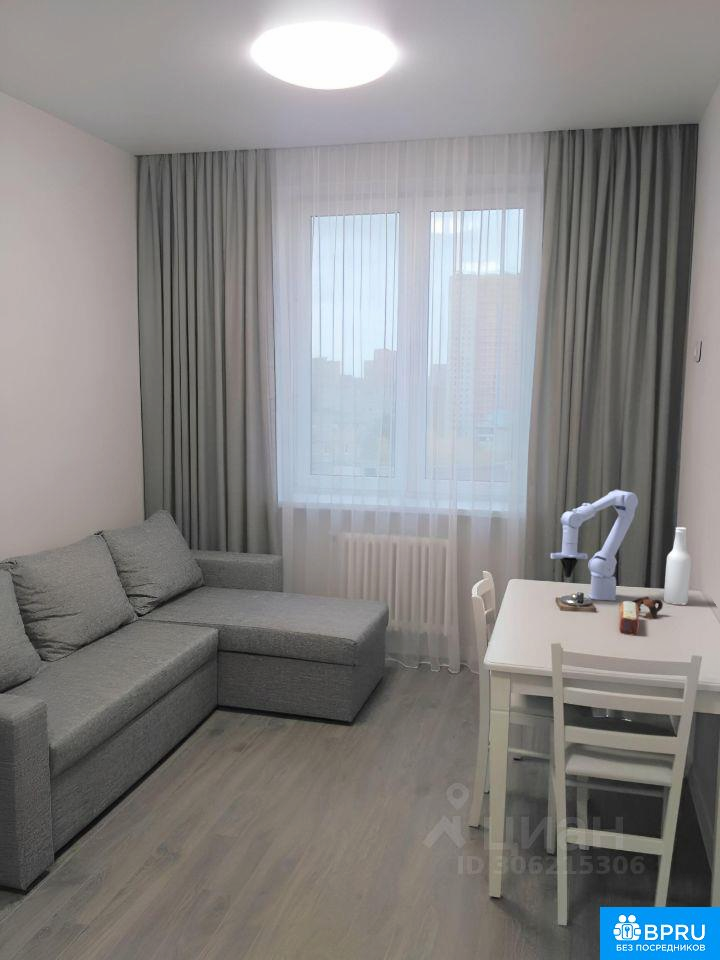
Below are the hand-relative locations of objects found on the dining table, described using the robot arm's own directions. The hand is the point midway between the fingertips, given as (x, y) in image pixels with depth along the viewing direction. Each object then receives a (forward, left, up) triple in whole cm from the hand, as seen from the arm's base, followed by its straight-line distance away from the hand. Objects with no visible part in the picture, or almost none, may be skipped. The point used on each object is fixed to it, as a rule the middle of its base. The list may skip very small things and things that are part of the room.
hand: (567, 576), depth 301 cm
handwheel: (-2, +9, -8) cm, 12 cm away
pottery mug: (-26, +15, -10) cm, 32 cm away
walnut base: (-2, +9, -9) cm, 13 cm away
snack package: (-17, +31, -10) cm, 37 cm away
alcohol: (-43, -6, -10) cm, 44 cm away
